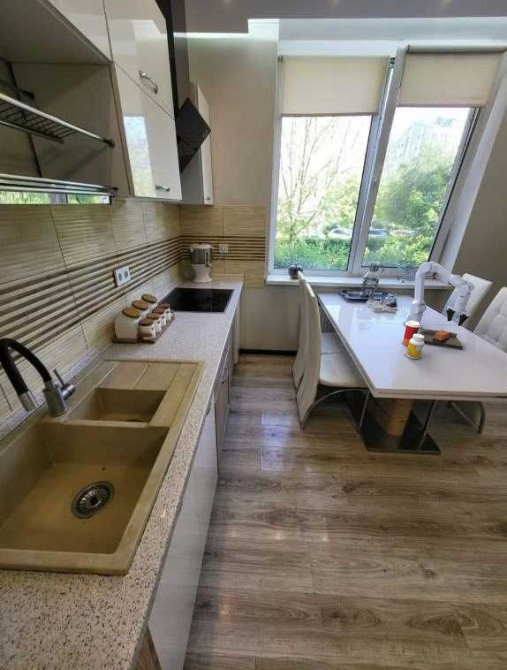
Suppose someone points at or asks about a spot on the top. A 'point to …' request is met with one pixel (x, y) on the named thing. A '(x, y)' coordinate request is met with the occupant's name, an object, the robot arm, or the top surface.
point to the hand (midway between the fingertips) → (454, 323)
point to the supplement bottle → (415, 346)
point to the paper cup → (410, 331)
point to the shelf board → (450, 342)
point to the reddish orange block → (441, 336)
